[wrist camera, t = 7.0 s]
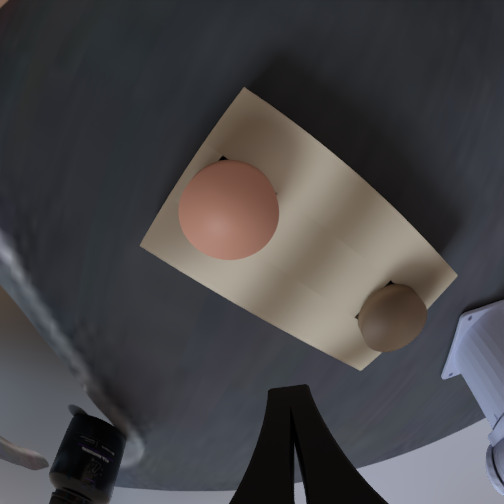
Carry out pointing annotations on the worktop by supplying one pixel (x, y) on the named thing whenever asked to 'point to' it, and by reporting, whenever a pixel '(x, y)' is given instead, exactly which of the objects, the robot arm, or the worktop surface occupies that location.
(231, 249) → the terracotta plunger
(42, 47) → the worktop surface
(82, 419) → the supplement bottle
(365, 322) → the walnut plunger
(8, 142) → the worktop surface
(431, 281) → the board
